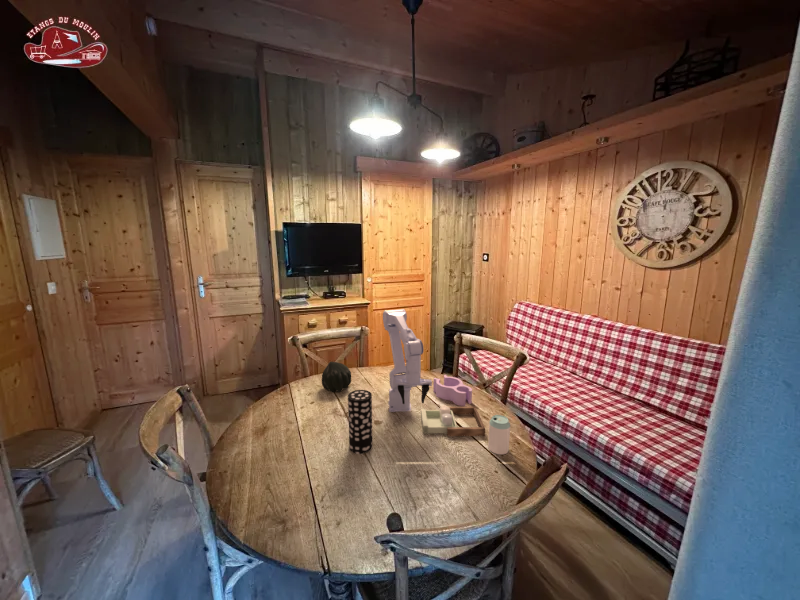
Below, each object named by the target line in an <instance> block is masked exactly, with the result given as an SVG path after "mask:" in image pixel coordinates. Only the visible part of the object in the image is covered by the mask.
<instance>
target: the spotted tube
mask: <svg viewBox="0 0 800 600" xmlns="http://www.w3.org/2000/svg"><path fill="white" fill-rule="evenodd" d="M372 398H373V394H372V392H371V391H369V390H366V389H357V390H353V391H351V392H349V393H348V394H347V409H348V414H347V416H348V445H349V450H350V451H351V453H354V454H357V455H362V454H367V453H368V452H371V450H372V449H373V399H372Z"/></svg>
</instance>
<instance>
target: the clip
mask: <svg viewBox="0 0 800 600" xmlns="http://www.w3.org/2000/svg"><path fill="white" fill-rule="evenodd" d="M432 387H433V393H435V396H436V398H439V399H441V400H445V401H451V402H453V403H454V404H455V405H457V406H458V407H466V401H467V403H468V404H470V405H471V404H472V402H473V401H472V399H473V388H472V387H470V386H468V385H466V384H464V383H463V381H462V380H461V378H458V377H455V376H447V374H444V375H443V384H442V383H441V379H440V378H436V377H434V378H433V386H432Z"/></svg>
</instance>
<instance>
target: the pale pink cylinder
mask: <svg viewBox="0 0 800 600" xmlns="http://www.w3.org/2000/svg"><path fill="white" fill-rule="evenodd" d="M449 407H450V406H448V405H444V406H443V405H442V406H440V407H439V410H440V421H441V422H442V415H443V414H450V408H449Z"/></svg>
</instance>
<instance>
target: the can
mask: <svg viewBox="0 0 800 600" xmlns="http://www.w3.org/2000/svg"><path fill="white" fill-rule="evenodd" d="M510 432H511V423H510V422H509V419H508V417H507V416H505V415H502V414H495V415H493V416H491V419H490V420H489V424H488V440H487V441H488V442H487V443H488V444H487V449H488V450H489V451H490V452H492V453H493V454H495V455H505V454H508V453H509V448H510V436H511V433H510Z"/></svg>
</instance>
